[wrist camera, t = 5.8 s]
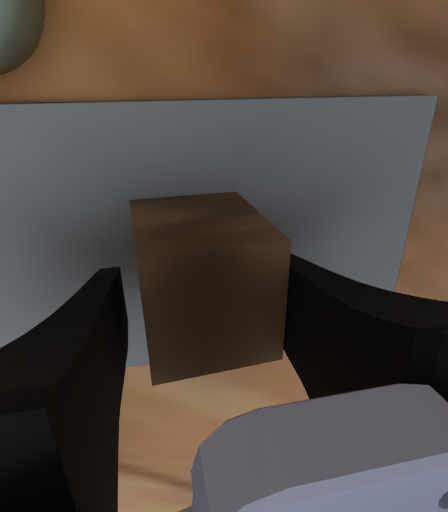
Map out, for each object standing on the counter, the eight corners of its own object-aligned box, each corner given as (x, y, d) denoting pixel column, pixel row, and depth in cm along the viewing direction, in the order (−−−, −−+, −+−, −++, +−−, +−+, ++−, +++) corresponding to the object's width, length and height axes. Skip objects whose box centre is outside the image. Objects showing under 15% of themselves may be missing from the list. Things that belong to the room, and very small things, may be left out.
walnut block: (235, 191, 14) (291, 241, 10) (235, 282, 16) (282, 359, 11) (128, 200, 13) (136, 259, 9) (141, 295, 15) (152, 385, 10)
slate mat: (420, 94, 15) (438, 95, 14) (374, 317, 20) (385, 328, 19) (-77, 104, 12) (-95, 106, 11) (13, 368, 16) (6, 385, 15)
